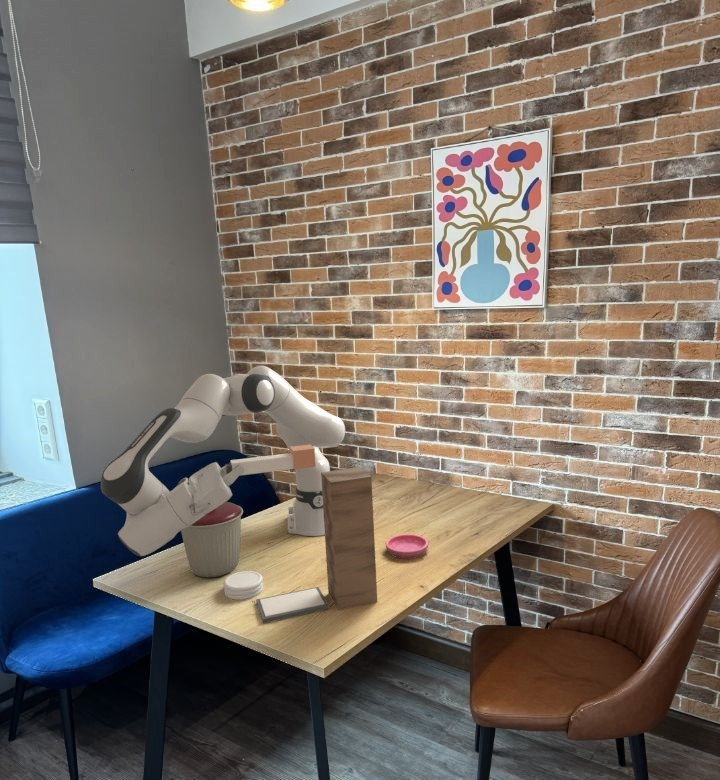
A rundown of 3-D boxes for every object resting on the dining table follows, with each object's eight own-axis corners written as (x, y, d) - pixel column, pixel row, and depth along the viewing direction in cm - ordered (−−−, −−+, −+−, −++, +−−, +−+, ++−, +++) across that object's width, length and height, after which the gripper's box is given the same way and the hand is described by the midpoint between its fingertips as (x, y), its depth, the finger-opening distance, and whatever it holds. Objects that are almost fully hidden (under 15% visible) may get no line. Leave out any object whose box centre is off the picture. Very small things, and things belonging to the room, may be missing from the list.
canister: (259, 568, 168) (254, 496, 164) (201, 591, 156) (194, 515, 152) (227, 550, 181) (221, 483, 178) (171, 570, 169) (163, 499, 166)
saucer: (406, 565, 165) (406, 555, 164) (377, 552, 174) (376, 542, 174) (437, 552, 173) (437, 542, 172) (407, 540, 182) (407, 530, 182)
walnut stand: (328, 593, 151) (321, 472, 146) (365, 585, 154) (359, 466, 149) (338, 610, 143) (330, 482, 138) (377, 601, 146) (371, 476, 141)
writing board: (256, 603, 148) (256, 598, 148) (318, 590, 153) (318, 586, 153) (263, 623, 139) (262, 618, 139) (328, 608, 144) (328, 604, 143)
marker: (225, 472, 136) (224, 454, 136) (311, 462, 143) (310, 444, 142) (227, 477, 132) (226, 458, 132) (315, 466, 139) (314, 448, 138)
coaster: (218, 590, 156) (217, 578, 156) (252, 578, 162) (251, 566, 161) (235, 605, 148) (233, 592, 148) (270, 591, 154) (269, 579, 154)
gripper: (182, 506, 122) (238, 466, 124) (179, 479, 141) (228, 444, 144) (200, 529, 124) (255, 488, 126) (195, 499, 143) (243, 464, 145)
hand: (241, 465), depth 135 cm, fingers closed on marker, 3 cm apart
